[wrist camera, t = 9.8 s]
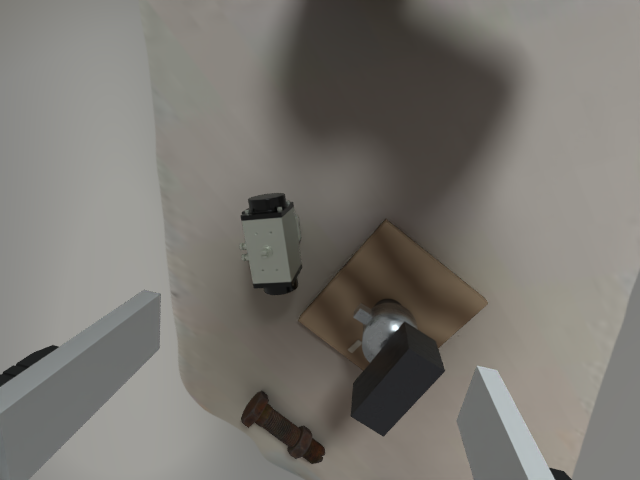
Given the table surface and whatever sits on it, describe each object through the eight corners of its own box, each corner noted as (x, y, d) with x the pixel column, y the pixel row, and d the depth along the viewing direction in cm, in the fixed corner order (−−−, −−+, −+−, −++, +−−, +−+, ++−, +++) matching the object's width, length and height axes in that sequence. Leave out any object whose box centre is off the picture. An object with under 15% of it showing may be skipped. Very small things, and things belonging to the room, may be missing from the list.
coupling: (337, 333, 47) (325, 400, 35) (378, 277, 44) (381, 331, 32) (399, 371, 47) (408, 451, 35) (445, 319, 44) (472, 388, 32)
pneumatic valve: (299, 185, 47) (276, 201, 36) (309, 264, 51) (291, 302, 39) (261, 189, 48) (226, 205, 37) (273, 266, 52) (245, 304, 40)
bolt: (320, 440, 62) (255, 391, 61) (334, 439, 59) (266, 387, 57) (305, 474, 58) (236, 423, 57) (320, 475, 55) (246, 421, 53)
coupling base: (385, 218, 47) (387, 227, 42) (485, 298, 48) (497, 316, 43) (300, 315, 53) (293, 333, 49) (389, 384, 54) (391, 408, 50)
